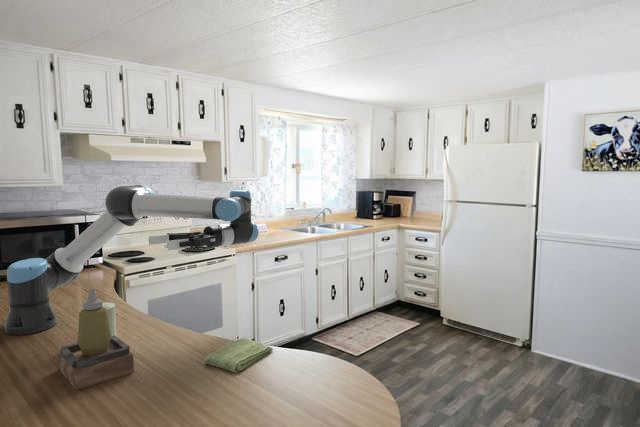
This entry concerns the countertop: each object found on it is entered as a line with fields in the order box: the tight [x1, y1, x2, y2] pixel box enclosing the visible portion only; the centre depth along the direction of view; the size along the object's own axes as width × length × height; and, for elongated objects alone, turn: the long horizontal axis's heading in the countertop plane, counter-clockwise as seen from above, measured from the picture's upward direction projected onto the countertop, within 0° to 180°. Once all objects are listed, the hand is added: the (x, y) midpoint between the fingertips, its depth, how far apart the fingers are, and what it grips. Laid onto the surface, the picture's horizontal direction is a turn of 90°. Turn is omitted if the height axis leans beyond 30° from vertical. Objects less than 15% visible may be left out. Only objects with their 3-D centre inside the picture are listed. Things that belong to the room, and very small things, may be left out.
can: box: [102, 301, 118, 338], centre depth 136 cm, size 9×9×12 cm
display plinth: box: [57, 335, 135, 391], centre depth 116 cm, size 16×14×6 cm
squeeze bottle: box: [77, 287, 111, 357], centre depth 115 cm, size 8×8×18 cm
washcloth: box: [203, 337, 274, 373], centre depth 124 cm, size 13×18×3 cm
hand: (158, 243), depth 133 cm, fingers open, 13 cm apart
